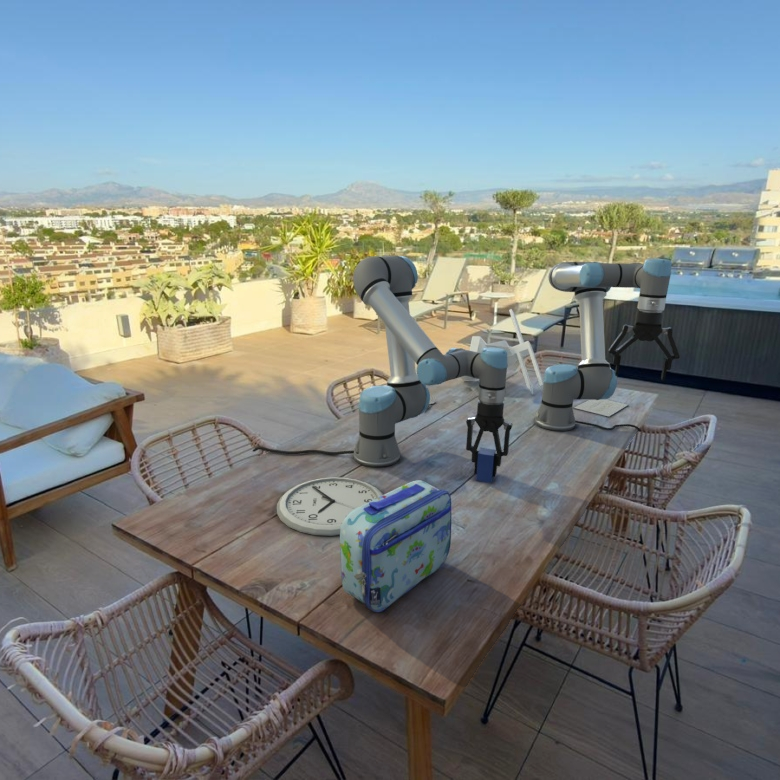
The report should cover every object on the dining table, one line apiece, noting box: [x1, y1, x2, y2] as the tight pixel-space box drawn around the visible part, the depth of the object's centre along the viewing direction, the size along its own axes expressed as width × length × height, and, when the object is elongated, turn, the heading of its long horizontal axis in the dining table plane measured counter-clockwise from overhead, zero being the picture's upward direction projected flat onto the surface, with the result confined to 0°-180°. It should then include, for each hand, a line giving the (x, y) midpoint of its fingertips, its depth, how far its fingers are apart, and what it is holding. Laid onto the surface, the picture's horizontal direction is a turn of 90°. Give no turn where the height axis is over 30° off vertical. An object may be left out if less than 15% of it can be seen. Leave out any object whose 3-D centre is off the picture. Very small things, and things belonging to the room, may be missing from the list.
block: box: [475, 447, 497, 484], centre depth 158 cm, size 5×5×9 cm
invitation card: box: [573, 399, 629, 418], centre depth 226 cm, size 21×1×15 cm
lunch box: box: [339, 479, 452, 613], centre depth 109 cm, size 26×11×21 cm, turn 134°
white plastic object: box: [460, 308, 544, 395], centre depth 252 cm, size 37×45×31 cm
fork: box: [428, 395, 437, 408], centre depth 223 cm, size 3×16×2 cm, turn 160°
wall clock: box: [276, 476, 385, 537], centre depth 142 cm, size 30×2×30 cm
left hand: (485, 473), depth 159 cm, fingers open, 5 cm apart
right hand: (639, 377), depth 167 cm, fingers open, 13 cm apart
